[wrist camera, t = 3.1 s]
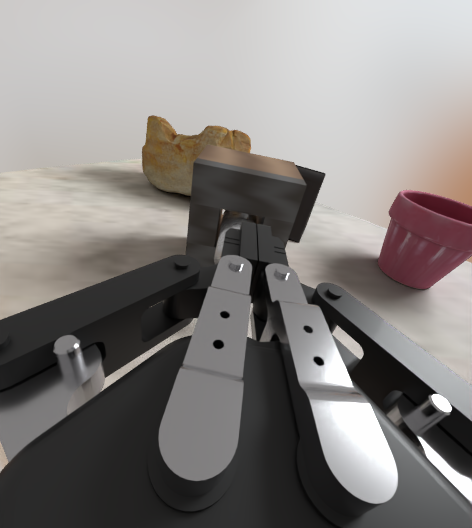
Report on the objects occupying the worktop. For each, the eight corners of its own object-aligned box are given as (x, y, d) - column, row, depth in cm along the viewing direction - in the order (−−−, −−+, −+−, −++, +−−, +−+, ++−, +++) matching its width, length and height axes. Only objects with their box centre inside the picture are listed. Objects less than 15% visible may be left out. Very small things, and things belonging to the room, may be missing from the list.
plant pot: (347, 249, 49) (381, 184, 42) (402, 251, 53) (441, 192, 46) (402, 302, 38) (461, 227, 31) (466, 299, 42) (531, 231, 35)
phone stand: (298, 243, 47) (322, 179, 41) (268, 232, 49) (287, 169, 42) (306, 226, 55) (328, 169, 48) (280, 217, 56) (297, 160, 49)
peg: (252, 236, 35) (259, 206, 32) (252, 282, 27) (262, 247, 24) (220, 230, 35) (225, 199, 32) (211, 275, 26) (217, 238, 24)
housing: (267, 250, 43) (293, 162, 35) (270, 288, 35) (306, 185, 27) (197, 237, 42) (207, 144, 34) (184, 273, 34) (193, 162, 26)
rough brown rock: (257, 202, 63) (273, 136, 56) (229, 218, 49) (244, 133, 42) (179, 177, 69) (184, 115, 62) (134, 185, 56) (134, 106, 48)
